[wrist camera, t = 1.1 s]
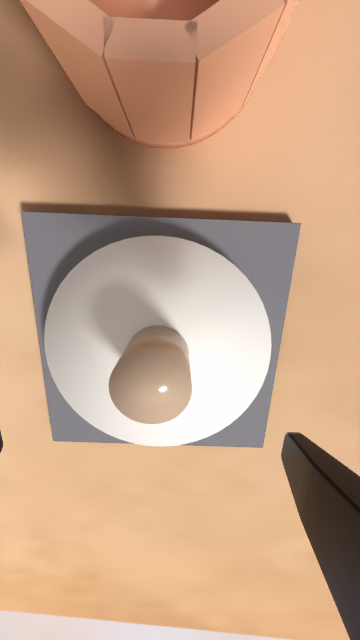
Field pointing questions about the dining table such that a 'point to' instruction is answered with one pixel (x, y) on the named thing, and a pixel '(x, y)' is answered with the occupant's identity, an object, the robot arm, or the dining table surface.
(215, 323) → the lid
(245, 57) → the bowl
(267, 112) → the dining table surface
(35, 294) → the mat
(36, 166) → the dining table surface
